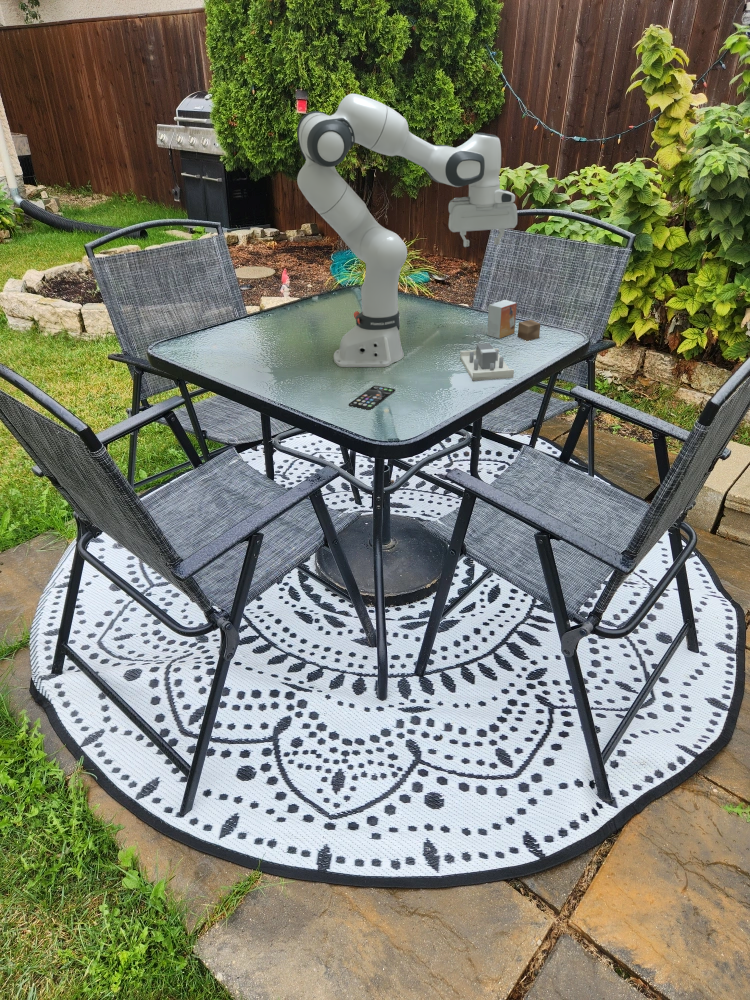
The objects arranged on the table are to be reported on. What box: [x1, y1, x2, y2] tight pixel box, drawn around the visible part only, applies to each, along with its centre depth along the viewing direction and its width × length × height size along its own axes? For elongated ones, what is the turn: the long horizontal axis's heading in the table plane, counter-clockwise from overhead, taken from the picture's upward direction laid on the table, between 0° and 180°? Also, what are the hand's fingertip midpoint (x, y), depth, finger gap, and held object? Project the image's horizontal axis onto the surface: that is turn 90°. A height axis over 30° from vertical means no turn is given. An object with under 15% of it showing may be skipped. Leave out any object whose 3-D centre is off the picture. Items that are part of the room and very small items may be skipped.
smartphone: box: [348, 385, 396, 411], centre depth 187 cm, size 7×1×15 cm
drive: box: [475, 342, 496, 369], centre depth 201 cm, size 4×8×5 cm, turn 6°
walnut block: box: [517, 319, 541, 342], centre depth 221 cm, size 5×5×5 cm
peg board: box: [459, 348, 515, 382], centre depth 201 cm, size 12×18×4 cm, turn 6°
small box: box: [486, 299, 518, 340], centre depth 223 cm, size 8×6×10 cm
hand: (481, 245), depth 202 cm, fingers open, 8 cm apart
